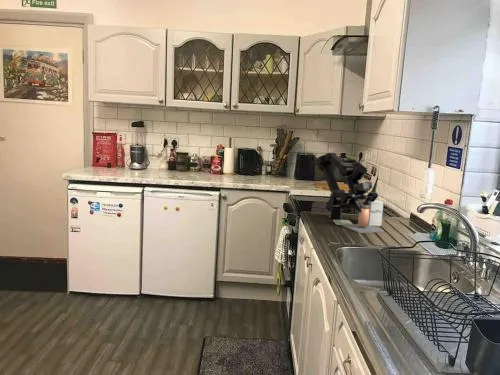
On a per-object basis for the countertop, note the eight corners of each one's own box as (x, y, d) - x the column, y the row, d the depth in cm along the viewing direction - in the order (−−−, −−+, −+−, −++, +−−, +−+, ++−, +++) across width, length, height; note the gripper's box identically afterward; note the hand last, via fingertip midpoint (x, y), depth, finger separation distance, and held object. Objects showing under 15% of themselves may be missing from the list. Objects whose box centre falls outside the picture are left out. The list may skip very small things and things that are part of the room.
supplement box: (368, 226, 222) (370, 201, 220) (361, 223, 229) (363, 199, 227) (381, 226, 224) (383, 201, 222) (373, 222, 231) (376, 199, 229)
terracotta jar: (355, 224, 215) (357, 204, 213) (363, 224, 217) (364, 204, 216) (362, 226, 211) (364, 206, 209) (370, 226, 213) (372, 205, 212)
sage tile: (333, 221, 229) (333, 219, 229) (348, 222, 230) (348, 220, 230) (336, 224, 222) (336, 222, 221) (352, 225, 222) (352, 223, 222)
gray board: (342, 226, 218) (342, 224, 218) (366, 225, 223) (366, 224, 223) (358, 233, 205) (358, 231, 205) (383, 232, 210) (383, 230, 210)
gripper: (345, 176, 211) (356, 202, 203) (377, 176, 218) (390, 202, 209) (335, 189, 220) (345, 215, 211) (367, 189, 226) (378, 214, 218)
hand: (365, 211), depth 212 cm, fingers closed on terracotta jar, 5 cm apart
